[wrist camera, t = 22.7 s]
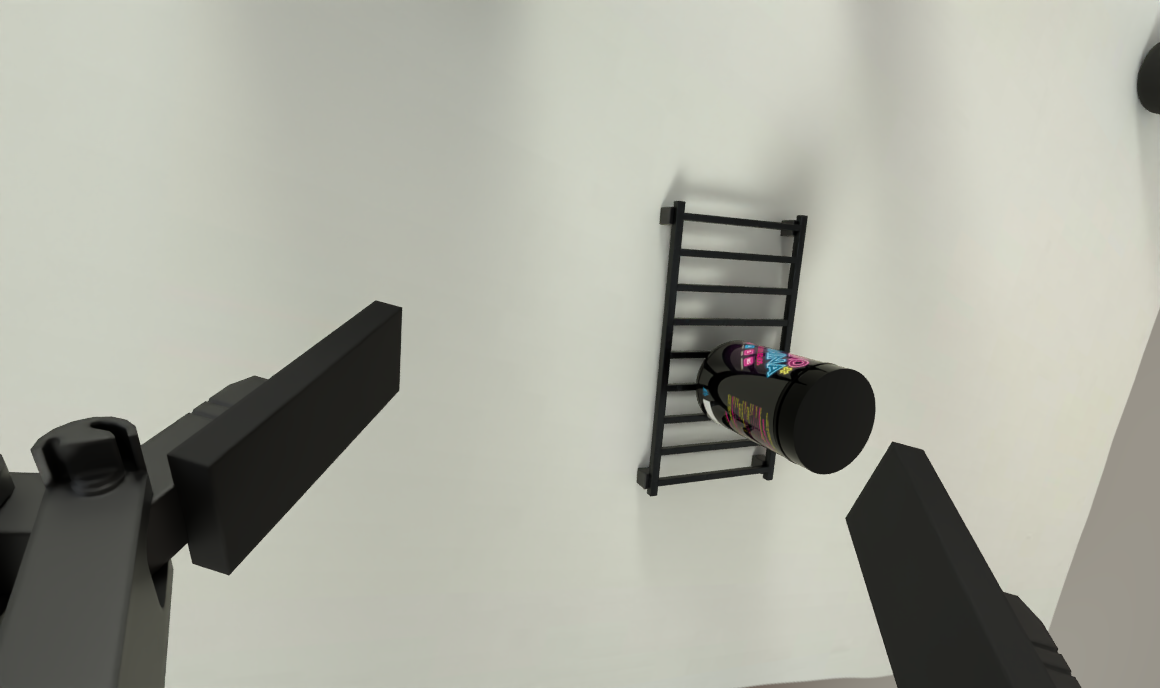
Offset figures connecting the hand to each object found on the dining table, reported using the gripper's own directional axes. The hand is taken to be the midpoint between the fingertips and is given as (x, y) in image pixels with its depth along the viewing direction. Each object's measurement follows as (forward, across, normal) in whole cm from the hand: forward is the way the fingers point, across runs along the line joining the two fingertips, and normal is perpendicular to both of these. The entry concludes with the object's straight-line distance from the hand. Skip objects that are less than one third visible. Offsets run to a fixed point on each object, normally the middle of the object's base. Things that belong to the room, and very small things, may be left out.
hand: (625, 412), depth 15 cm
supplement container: (+26, +8, -13) cm, 30 cm away
